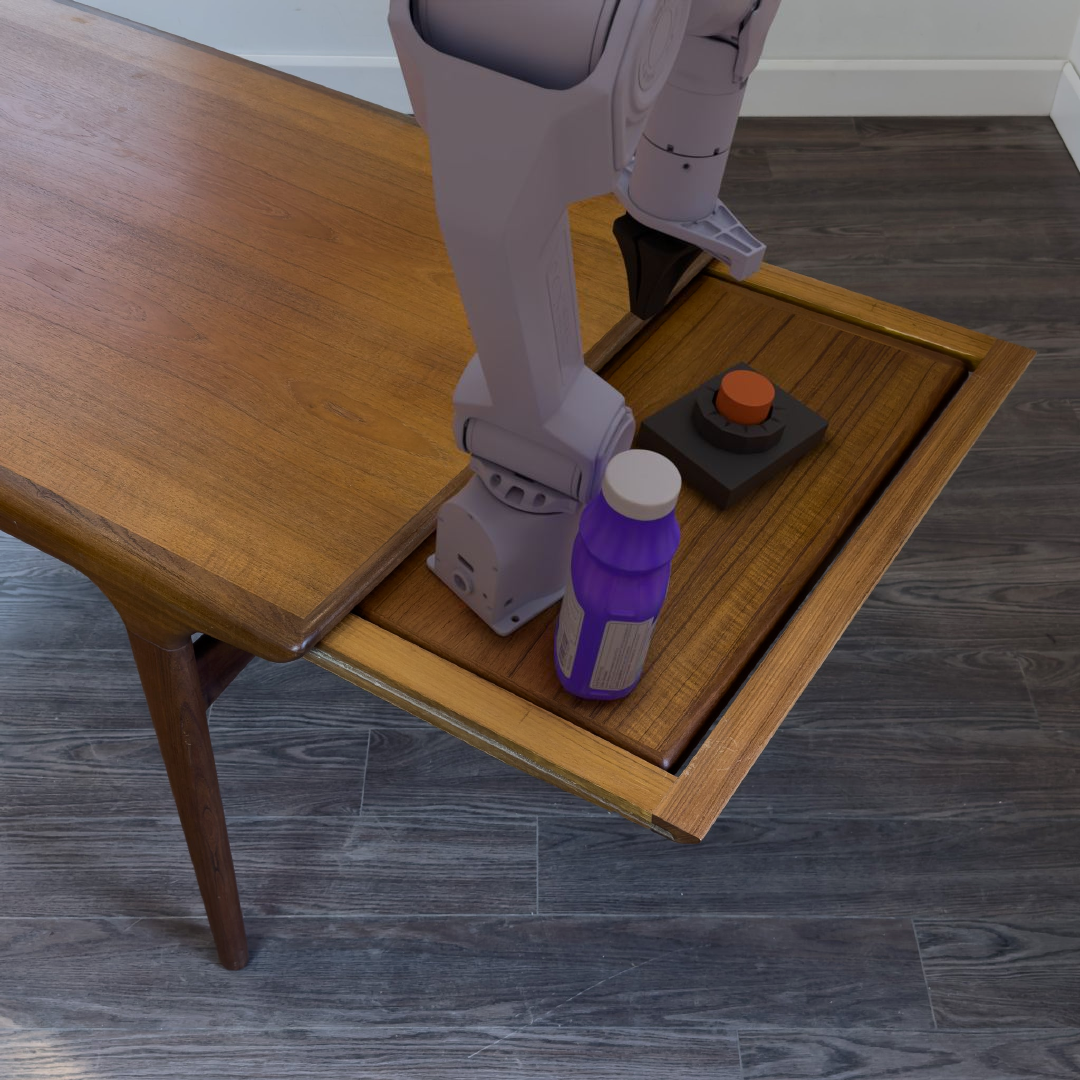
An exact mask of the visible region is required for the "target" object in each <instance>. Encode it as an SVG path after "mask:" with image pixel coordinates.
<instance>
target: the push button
mask: <svg viewBox="0 0 1080 1080" xmlns="http://www.w3.org/2000/svg"><path fill="white" fill-rule="evenodd" d="M760 374H761V373H760ZM760 374H758V373H755V372H752V371H747V370H737V371H733V372H730V373H728V374H727V375H726V376H725V377H724V378H723V379H722V382H721V385H720V389H719V392H718V395H717V398H716V408H717V411H718V412H719V414H720V415H722V416H723V417H724V418H726V419H727V420H728V421H730V422H733V423H737V424H740V425H744V426H750V425H758V424H760V423H762V422H763V421H764V420H765V419H766V418H767V415H768V412H769V410H770V407H771V404H772V401H773V398H774V396H775V390H774V387H773V385H772V384H771V382H772V381H771V380H770V379H769V378H767V377H766V376H764V375H763V374H761V375H760ZM762 375H763V376H762ZM765 377H766V378H767V379H766V378H765ZM768 379H769V380H770V381H771V382H770V381H769V380H768Z"/></svg>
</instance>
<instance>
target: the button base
mask: <svg viewBox="0 0 1080 1080" xmlns="http://www.w3.org/2000/svg"><path fill="white" fill-rule="evenodd" d="M737 370H747V371H752V372H755V373H758V374H760V375H762V376H764V375H763V374H762V373H761V372H759V371H758V370H756V369H754V368H753V367H752V366H750V365H749V364H747V363H745V361H743V360H741V361H739V362H737V363H735V364H734V365H733V366H731V367H729V368H728V369H725V371H723V372H721V373H719V374H716V375H714V376H713V377H711V378H709V379H708V380H706V381H704V382H702V383H701V384H700V385H699V386H697V387H696V388H694V389H693V390H691V391H689V392H688V393H686V394H685V395H683V396H681V397H680V398H679V397H678V399H676V400H674V401H672V402H671V403H669V404H668V405H666V406H664V407H663V408H661V409H659V410H658V411H657V412H654V413H653V414H651V415H649V416H648V417H646V418H644V419H643V420H641V422H640V425H639V428H638V434H637V436H636V443H637V444H638V445H640V446H641V447H642V448H643V449H644V450H648V451H652V452H655V453H658V454H660V455H662V456H664V457H665V458H667V459H668V460H670V461H671V462H672V463H673V464H674V466H675V467H676V468H677V470H678V471H679V474H680V476H681V479H683V480H684V482H687V483H688V484H689V485H691V486H692V488H694V489H695V490H696V491H698V492H699V493H701V494H702V495H703V496H704V497H706V498H707V499H708V500H709V501H711V502H712V503H713V504H715V506H717V507H718V508H720V509H721V510H722V511H726V510H728V509H730V508H731V507H732V506H734V505H735V504H737V503H738V502H739V501H741V500H742V499H743V498H745V497H746V496H747V495H749V494H751V493H752V492H754V491H755V490H756V489H757V488H759V487H760V486H762V485H763V484H765V483H766V482H767V481H769V480H770V479H772V478H773V477H775V476H776V475H778V474H779V473H780V472H782V471H783V470H784V469H786V468H788V467H789V466H791V465H792V464H793V463H795V462H796V461H798V460H799V459H800V458H802V457H803V456H805V455H807V453H809V452H810V451H812V450H813V449H815V448H816V447H818V446H819V445H820V444H822V442H823V440H824V438H825V436H826V433H827V430H828V428H829V426H830V421H828V420H827V419H826V418H824V417H822V416H821V415H820V414H818V413H817V412H815V411H814V410H813V409H811V408H810V407H808V406H807V405H805V403H803V402H802V401H800V400H798V398H796V397H794V396H793V395H791V394H790V393H788V392H787V391H786V390H784V389H783V388H782V387H780V386H778V385H777V384H776V383H774V382H773V381H772V380H770V379H769V378H767V377H766V376H764V377H765V378H766V379H768V380H769V381H770V382H771V384H772V385H773V387H774V390H775V396H774V398H773V401H772V404H771V407H770V410H769V412H768V415H767V418H766V419H765V420H764V421H763V422H762V423H760V424H758V425H750V426H744V425H740V424H737V423H733V422H730V421H728V420H727V419H726V418H724V417H723V416H722V415H720V414H719V412H718V411H717V408H716V398H717V395H718V392H719V389H720V385H721V382H722V379H723V378H724V377H725V376H726V375H727V374H728V373H730V372H733V371H737Z"/></svg>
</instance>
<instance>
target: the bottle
mask: <svg viewBox="0 0 1080 1080" xmlns="http://www.w3.org/2000/svg"><path fill="white" fill-rule="evenodd" d="M681 488H682V477H681V476H680V474H679V471H678V470H677V468H676V467H675V466H674V464H673V463H672V462H671V461H670V460H668V459H667V458H665V457H664V456H662V455H660V454H658V453H655V452H652V451H648V450H646V449H630V450H628V451H624V452H621V453H619V454H617V455H616V456H614V457H613V458H612V459H611V460H610V462H609V463H608V465H607V467H606V471H605V475H604V478H603V482H602V488H601V491H600V493H599V495H598V496H596V497H595V498H593V499H592V500H590V501H589V503H588V504H587V506H586V507H585V508H584V510H583V512H582V514H581V517H580V522H579V531H578V533H577V535H576V538H575V541H574V544H573V550H572V558H571V566H570V571H569V575H568V580H567V584H566V589H565V593H564V597H563V598H562V603H561V607H560V612H559V614H558V617H557V621H556V624H555V630H554V637H553V659H554V667H555V671H556V675H557V677H558V680H559V682H560V684H561V686H562V687H563V689H564V690H565V691H566V692H568V693H569V694H572V695H574V696H576V697H579V698H582V699H586V700H598V701H613V700H619V699H621V698H624V697H627V696H628V695H629V694H630V693H631V692H633V690H634V688H635V687H636V686H637V684H638V682H639V680H640V679H641V676H642V673H643V666H644V664H645V661H646V657H647V654H648V651H649V648H650V645H651V642H652V638H653V634H654V632H655V629H656V625H657V622H658V619H659V616H660V613H661V610H662V608H663V606H664V603H665V601H666V600H667V596H668V591H669V585H670V579H671V571H672V559H673V558H674V557H675V555H676V553H677V551H678V550H679V549H678V548H679V547H680V541H681V535H682V534H681V528H680V524H679V522H678V521H677V519H676V506H677V503H678V498H679V495H680V492H681Z"/></svg>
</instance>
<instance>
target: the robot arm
mask: <svg viewBox="0 0 1080 1080" xmlns="http://www.w3.org/2000/svg"><path fill="white" fill-rule="evenodd" d="M781 3H782V0H389V8H388V14H387V20H386V21H387V25H388V28H389V32H390V35H391V38H392V42H393V45H394V49H395V53H396V56H397V59H398V63H399V66H400V70H401V73H402V77H403V80H404V84H405V87H406V91H407V95H408V98H409V101H410V105H411V107H412V112H413V115H414V119H415V121H416V123H417V124H418V125H419V126H418V127H420V129H422V131H423V132H424V133H425V135H426V137H428V147H429V156H430V166H431V168H430V169H431V178H432V189H433V198H434V207H435V213H436V216H437V222H438V225H439V229H440V232H441V235H442V239H443V243H444V246H445V249H446V252H447V255H448V259H449V263H450V266H451V269H452V272H453V276H454V279H455V282H456V286H457V289H458V293H459V296H460V299H461V303H462V306H463V310H464V313H465V317H466V319H467V323H468V326H469V329H470V333H471V336H472V340H473V343H474V347H475V350H476V352H475V353H474V354H473V356H472V357H471V359H470V360H469V362H468V364H467V365H466V366H465V368H464V370H463V372H462V374H461V376H460V378H459V380H458V382H457V384H456V386H455V389H454V391H453V393H452V394H453V395H452V397H453V398H452V400H451V402H452V405H453V407H454V412H453V417H452V427H451V428H452V429H451V430H452V435H453V437H454V443H455V446H456V448H457V449H458V450H459V451H460V452H464V453H466V454H467V455H468V454H469V455H470V459H469V470H470V471H472V472H474V473H473V475H472V477H470V479H469V480H468V482H467V483H466V485H465V486H463V487H462V488H461V490H460V491H458V492H457V493H456V494H455V495H453V496H452V497H450V498H449V499H448V500H447V501H445V502H444V503H443V504H442V505H441V506H440V507H439V509H438V513H437V519H436V521H437V522H436V536H435V537H436V538H435V552H434V553H432V554H431V555H429V556H428V557H427V559H426V567H427V568H428V569H429V570H430V571H431V572H432V573H433V574H434V575H435V576H437V577H438V579H440V580H441V582H443V583H444V584H445V585H446V586H447V587H448V588H449V589H450V590H451V591H452V592H453V593H454V594H455V595H456V596H458V598H459V599H460V600H462V601H463V602H464V603H465V604H466V606H468V607H469V608H470V609H471V610H472V611H473V612H474V613H475V614H476V615H477V616H478V617H479V618H480V619H481V620H483V621H484V622H485V623H486V625H487V626H489V628H491V629H492V630H493V631H494V632H495V633H496V634H497V635H498V636H501V637H508V636H509V635H511V634H512V633H513V632H515V631H516V630H517V629H520V628H521V627H522V626H524V625H525V624H526V623H528V622H530V621H531V620H533V619H534V618H535V617H537V616H538V615H540V614H541V613H543V612H544V611H545V610H547V609H549V608H550V607H552V606H553V605H554V604H556V603H557V602H558V601H560V600H561V599H562V600H563V598H564V593H565V589H566V584H567V580H568V575H569V571H570V566H571V558H572V550H573V544H574V541H575V538H576V535H577V533H578V531H579V522H580V517H581V514H582V512H583V510H584V508H585V507H586V506H587V504H588V503H589V501H590V500H592V499H593V498H595V497H596V496H598V495H599V493H600V491H601V488H602V482H603V478H604V475H605V471H606V467H607V465H608V463H609V462H610V460H611V459H612V458H613V457H614V456H616V455H617V454H619V453H621V452H624V451H628V450H631V447H632V445H633V441H634V438H635V432H636V424H637V423H636V420H635V416H634V413H633V410H632V408H631V407H630V406H627V405H626V398H625V396H624V395H623V394H622V393H621V392H619V390H617V389H616V388H615V387H613V386H612V385H611V384H610V383H608V382H607V381H606V380H604V379H603V378H602V377H601V376H600V375H598V374H597V373H595V372H594V371H593V370H592V369H590V368H589V367H588V366H587V365H586V363H585V358H584V350H583V348H584V347H583V339H582V331H581V321H580V311H579V310H580V309H579V301H578V292H577V284H576V274H575V264H574V254H573V247H572V238H571V237H572V236H571V227H570V226H571V225H570V217H569V209H568V208H569V207H568V206H569V205H571V204H575V203H577V202H582V201H586V200H590V199H594V198H597V197H601V196H604V195H608V194H611V193H612V194H613V195H614V196H615V197H616V199H617V200H618V201H619V203H620V204H621V205H622V206H623V207H624V208H625V213H624V214H623V215H621V216H618V217H617V218H615V219H614V220H613V225H612V230H611V232H612V235H613V236H614V238H615V241H616V242H617V245H618V247H619V250H620V252H621V256H622V260H623V263H624V268H625V272H626V279H627V287H628V288H627V290H628V299H629V309H630V310H629V311H630V313H631V314H633V315H634V316H636V317H637V318H638V319H640V320H641V321H643V322H644V321H647V320H648V319H651V318H652V317H655V316H656V315H658V314H660V313H662V312H663V310H664V308H665V306H666V304H667V302H668V300H669V298H670V297H671V294H672V293H673V291H674V289H675V288H676V286H677V284H678V283H679V281H680V280H681V279H682V277H683V276H684V275H685V273H686V272H687V270H688V269H689V268H690V267H691V265H692V264H693V263H694V262H695V261H696V260H697V259H698V257H700V255H702V254H703V252H706V253H707V254H709V255H710V256H712V257H713V258H715V259H716V260H718V261H719V262H721V263H722V264H724V265H725V266H726V267H729V270H728V275H729V276H730V277H732V278H733V279H735V280H736V281H738V282H742V281H744V280H745V279H748V278H750V277H752V276H753V275H755V274H757V273H758V272H760V269H761V267H762V263H763V260H764V256H765V253H766V249H767V245H766V244H764V243H763V242H762V241H760V240H758V239H757V238H756V237H755V236H754V235H753V234H751V232H749V231H748V230H747V229H746V227H745V226H744V225H743V224H742V223H741V222H740V221H739V220H738V219H737V217H736V216H735V215H734V214H733V213H732V212H731V211H730V209H729V208H728V207H727V206H726V205H725V203H724V202H723V201H722V200H721V199H720V198H719V193H720V190H721V185H722V180H723V177H724V173H725V170H726V166H727V161H728V158H729V155H730V150H731V147H732V143H733V139H734V135H735V131H736V127H737V123H738V119H739V116H740V111H741V108H742V105H743V101H744V97H745V93H746V89H747V85H748V82H749V77H750V75H751V74H752V72H753V71H754V70H755V69H756V68H757V66H758V65H759V62H760V59H761V56H762V55H763V51H764V47H765V43H766V40H767V36H768V33H769V31H770V28H771V26H772V24H773V22H774V20H775V18H776V16H777V13H778V11H779V8H780V6H781ZM513 620H516V621H513Z"/></svg>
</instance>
